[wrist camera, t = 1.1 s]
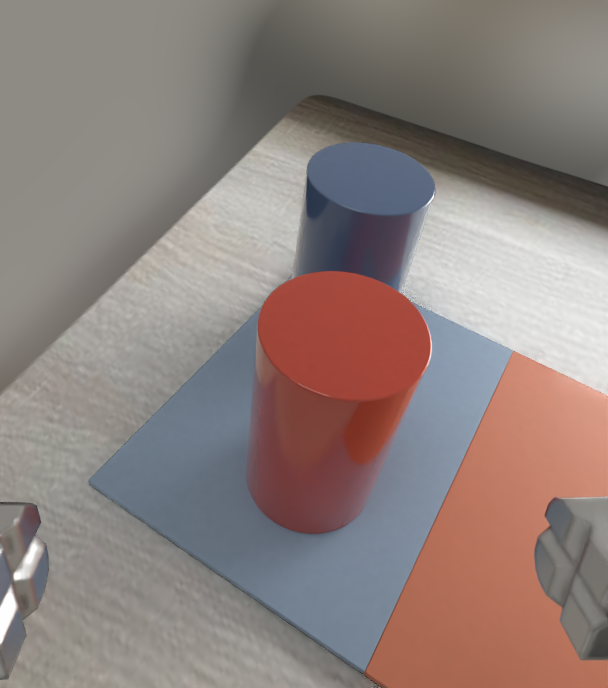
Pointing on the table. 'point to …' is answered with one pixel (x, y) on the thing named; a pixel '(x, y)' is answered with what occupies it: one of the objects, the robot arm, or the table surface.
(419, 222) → the navy blue cylinder
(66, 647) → the table surface
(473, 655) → the sorting board
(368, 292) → the red upright cylinder
